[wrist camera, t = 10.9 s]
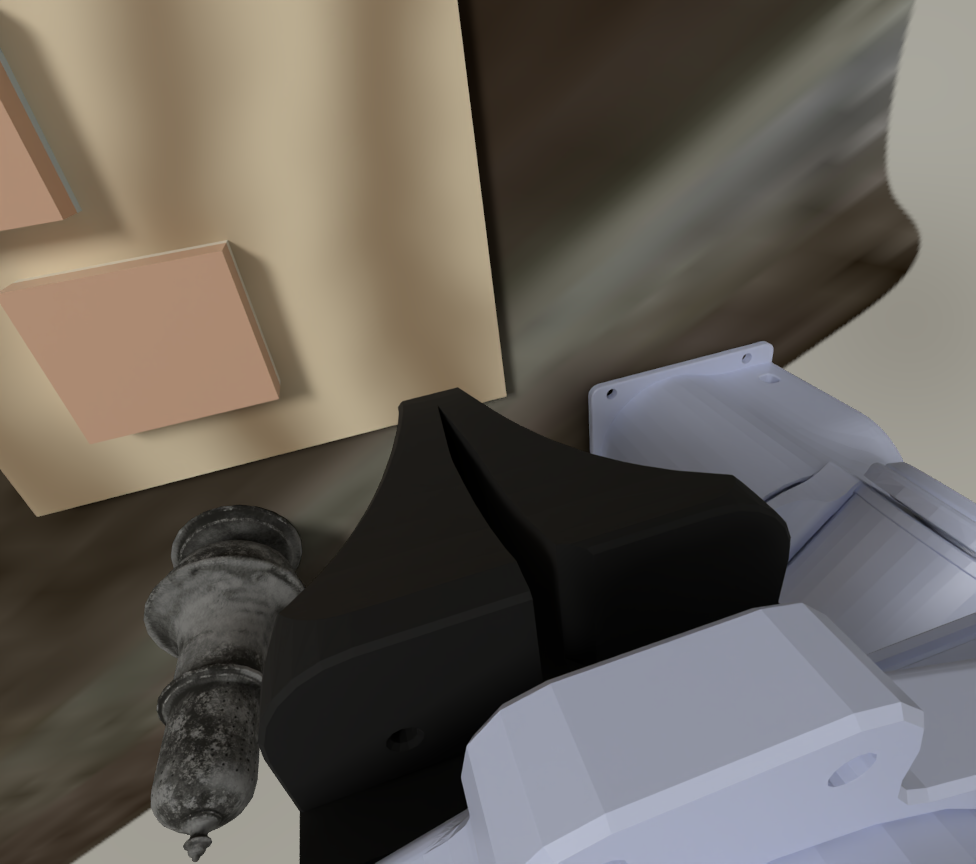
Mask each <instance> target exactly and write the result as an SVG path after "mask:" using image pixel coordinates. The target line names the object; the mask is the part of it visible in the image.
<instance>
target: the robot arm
mask: <svg viewBox="0 0 976 864" xmlns="http://www.w3.org/2000/svg"><path fill="white" fill-rule="evenodd" d="M745 354H746V356H745V357H744V359H742V358H743V356H744V355H745ZM772 356H773V346H772V345H771V344H769V343H767V342H765V341H761V342H757V343H754V344H750V345H746V346H742V347H738V348H734V349H730V350H727V351H723V352H719V353H715V354H711V355H707V356H704V357H700V358H696V359H692V360H688V361H684V362H681V363H677V364H673V365H669V366H665V367H661V368H657V369H654V370H650V371H646V372H642V373H638V374H634V375H631V376H627V377H623V378H619V379H615V380H611V381H608V382H604V383H600V384H597V385H595V386H593V387H592V388H591V390H590V391H589V395H588V404H589V436H590V453H588V452H585V451H581V450H578V449H575V448H572V447H570V446H567V445H564V444H561V443H559V442H556V441H553V440H551V439H548V438H546V437H544V436H541V435H539V434H537V433H535V432H533V431H531V430H529V429H527V428H524V427H522V426H520V425H518V424H517V423H515V422H513V421H511V420H509V419H507V418H506V417H504V416H502V415H500V414H499V413H497V412H495V411H494V410H492V409H491V408H489V407H487V406H486V405H484V404H483V403H481V402H480V401H478V400H477V399H475V398H474V397H472V396H471V395H469V394H468V393H466V392H465V391H463V390H461V389H460V388H458V387H457V388H453V389H449V390H445V391H441V392H437V393H433V394H429V395H425V396H421V397H417V398H413V399H409V400H405V401H402V402H401V403H400V405H399V406H398V411H399V416H398V425H397V431H396V436H395V440H394V444H393V448H392V452H391V455H390V458H389V461H388V463H387V466H386V469H385V472H384V474H383V477H382V480H381V482H380V484H379V486H378V489H377V491H376V493H375V495H374V497H373V499H372V501H371V503H370V505H369V507H368V508H367V510H366V512H365V514H364V515H363V517H362V518H361V520H360V522H359V523H358V525H357V527H356V528H355V530H354V531H353V533H352V534H351V536H350V537H349V539H348V540H347V541H346V543H345V544H344V545H343V547H342V548H341V549H340V550H339V552H338V553H337V554H336V555H335V557H334V558H333V559H332V560H331V562H330V563H329V564H328V565H327V566H326V567H325V568H324V570H323V571H322V572H321V573H320V574H319V575H318V576H317V577H316V578H315V579H314V580H313V581H312V582H311V583H310V584H309V585H308V586H307V587H306V588H305V589H304V590H303V591H302V592H301V593H300V594H299V595H298V596H297V597H296V598H295V599H294V600H292V601H291V602H290V603H289V604H288V605H287V606H286V607H285V608H284V609H283V610H282V611H281V612H279V613H278V615H277V617H276V620H275V624H274V627H273V631H272V635H271V639H270V643H269V647H268V651H267V656H266V661H265V665H264V669H263V676H262V682H261V692H260V709H259V726H258V745H259V747H260V750H261V752H262V755H263V757H264V760H265V761H266V763H267V764H268V766H269V767H270V769H271V770H272V772H273V773H274V774H275V776H276V777H277V779H278V780H279V782H280V783H281V785H282V786H283V788H284V789H285V791H286V792H287V793H288V795H289V796H290V798H291V799H292V801H293V802H294V804H295V805H296V806H297V808H298V809H299V811H300V864H976V503H974V502H972V501H971V500H969V499H968V498H966V497H964V496H963V495H961V494H959V493H958V492H956V491H954V490H952V489H951V488H949V487H948V486H946V485H944V484H943V483H941V482H939V481H937V480H936V479H934V478H932V477H930V476H929V475H927V474H925V473H924V472H922V471H920V470H919V469H917V468H915V467H913V466H911V465H909V464H907V463H905V462H903V460H902V457H901V455H900V453H899V452H898V450H897V448H896V447H895V445H894V444H893V442H892V441H891V439H890V438H889V437H888V435H887V434H886V433H885V432H884V431H883V430H882V429H881V428H880V427H879V426H878V425H877V424H876V423H875V422H874V421H873V420H871V419H870V418H869V417H867V416H866V415H864V414H862V413H861V412H859V411H857V410H856V409H854V408H852V407H850V406H848V405H846V404H845V403H843V402H841V401H839V400H838V399H836V398H834V397H832V396H830V395H829V394H827V393H825V392H823V391H822V390H820V389H818V388H816V387H814V386H812V385H811V384H809V383H807V382H806V381H804V380H802V379H800V378H798V377H797V376H795V375H793V374H791V373H789V372H787V371H786V370H784V369H782V368H781V367H779V366H777V365H775V364H773V363H772ZM611 389H613V392H612V393H611V394H610V395H608V396H606V395H607V392H608V391H609V390H611Z"/></svg>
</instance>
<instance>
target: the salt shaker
mask: <svg viewBox="0 0 976 864" xmlns="http://www.w3.org/2000/svg"><path fill="white" fill-rule="evenodd" d="M301 555H302V546H301V539H300V537H299V535H298V533H297V531H296V529H295V528H294V527H293V526H292V525H291V524H290V523H289V522H288V521H287V520H286V519H285V518H283V517H281V516H279V515H278V514H276V513H274V512H272V511H269V510H266V509H263V508H260V507H255V506H245V505H234V506H224V507H219V508H216V509H212V510H209V511H206V512H203V513H202V514H200V515H198V516H196V517H195V518H193V519H191V520H190V521H189V522H188V523H187V524H186V525H185V526H184V527H183V528H181V529H180V530H179V532H178V534H177V536H176V538H175V540H174V542H173V545H172V553H171V559H172V563H173V566H174V569H173V570H172V571H171V572H170V573H169V574H168V575H167V576H166V577H165V578H164V579H163V580H162V581H161V582H160V583H159V584H158V585H157V586H156V587H155V588H154V589H153V591H152V592H151V594H150V596H149V598H148V600H147V602H146V604H145V612H144V623H145V626H146V629H147V632H148V634H149V636H150V637H151V638H152V639H153V640H154V642H155V643H156V644H157V645H158V646H159V647H160V648H161V649H163V650H164V651H166V652H168V653H169V654H171V655H172V656H174V657H176V658H178V661H177V666H176V670H175V675H174V679H173V681H172V682H171V683H170V684H168V685H167V686H166V687H165V688H164V689H163V691H162V693H161V695H160V696H159V698H158V704H157V713H158V716H159V719H160V720H161V721H162V722H163V723H164V725H165V726H166V727H165V732H164V736H163V741H162V745H161V750H160V754H159V759H158V764H157V768H156V773H155V777H154V782H153V786H152V792H151V808H152V811H153V813H154V815H155V817H156V818H157V820H158V821H159V822H160V823H161V824H162V825H163V826H164V827H166V828H169V829H171V830H174V831H176V832H178V833H184V834H187V835H190V839H189V840H188V841H186V842H185V844H184V846H183V847H184V849H185V850H187V851H188V855H189V857H191V858H192V861H193V862H197V861H198V860H199V858H200V856H202V855H203V854H204V852H205V851H206V848H207V847H209V846H210V845H211V843H212V841H211V838H209V837H208V836H207V834H208V833H209V832H211V831H212V830H215V829H218V828H220V827H221V826H223V825H225V824H227V823H228V822H230V821H231V820H233V819H235V818H236V817H237V816H238V815H239V814H241V812H242V811H243V810H244V808H245V807H246V806H247V805H248V803H249V802H250V800H251V799H252V797H253V794H254V791H255V787H256V784H257V779H258V764H259V749H260V747H259V745H258V726H259V709H260V692H261V682H262V676H263V669H264V665H265V661H266V656H267V651H268V647H269V643H270V639H271V635H272V631H273V627H274V624H275V620H276V617H277V615H278V613H279V612H281V611H282V610H283V609H284V608H285V607H286V606H287V605H288V604H289V603H290V602H291V601H292V600H294V599H295V598H296V597H297V596H298V595H299V594H300V593H301V592H302V591H303V590H304V589H305V588H304V586H303V584H302V582H301V581H300V580H299V578H298V577H297V575H296V573H295V570H296V569H297V567H298V566H299V563H300V559H301Z"/></svg>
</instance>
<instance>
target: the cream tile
mask: <svg viewBox="0 0 976 864" xmlns="http://www.w3.org/2000/svg"><path fill="white" fill-rule="evenodd" d="M0 304H1V306H2V307H3V309H4V310H5V312H6V314H7V315H8V317H9V318H10V320H11V321H12V323H13V325H14V326H15V328H16V329H17V331H18V332H19V334H20V336H21V337H22V339H23V340H24V342H25V343H26V345H27V347H28V348H29V350H30V351H31V353H32V354H33V356H34V358H35V359H36V361H37V362H38V364H39V365H40V367H41V369H42V370H43V372H44V373H45V375H46V376H47V378H48V380H49V381H50V383H51V384H52V386H53V387H54V389H55V391H56V392H57V394H58V395H59V397H60V398H61V400H62V402H63V403H64V405H65V406H66V408H67V409H68V411H69V413H70V414H71V416H72V417H73V419H74V420H75V422H76V424H77V425H78V427H79V428H80V430H81V431H82V433H83V435H84V436H85V438H86V439H87V441H88V442H89V444H94V443H98V442H102V441H106V440H110V439H115V438H119V437H123V436H127V435H131V434H135V433H140V432H144V431H148V430H152V429H156V428H160V427H165V426H169V425H173V424H177V423H181V422H185V421H190V420H194V419H198V418H202V417H206V416H210V415H215V414H219V413H223V412H227V411H231V410H235V409H240V408H244V407H248V406H252V405H256V404H260V403H265V402H269V401H273V400H277V399H279V394H280V382H281V380H280V378H279V375H278V372H277V370H276V367H275V364H274V362H273V359H272V356H271V354H270V351H269V348H268V346H267V343H266V340H265V338H264V335H263V332H262V330H261V327H260V324H259V322H258V319H257V316H256V314H255V311H254V308H253V306H252V303H251V300H250V298H249V295H248V292H247V290H246V287H245V285H244V282H243V279H242V277H241V274H240V271H239V269H238V266H237V263H236V261H235V258H234V255H233V253H232V250H231V247H230V245H229V242H228V240H225V241H219V242H214V243H209V244H204V245H198V246H193V247H188V248H183V249H177V250H172V251H167V252H161V253H156V254H151V255H146V256H140V257H135V258H130V259H125V260H119V261H114V262H109V263H103V264H98V265H93V266H88V267H82V268H77V269H72V270H67V271H61V272H56V273H51V274H45V275H40V276H35V277H30V278H24V279H19V280H17V281H15V282H14V283H12V284H10V285H9V286H7V287H6V288H4V289H2V290H1V291H0Z"/></svg>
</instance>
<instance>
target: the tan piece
mask: <svg viewBox="0 0 976 864" xmlns="http://www.w3.org/2000/svg"><path fill="white" fill-rule="evenodd" d="M80 211H82V209H81V207H80V205H79V203H78V201H77V199H76V197H75V195H74V193H73V191H72V189H71V187H70V185H69V183H68V181H67V179H66V177H65V175H64V173H63V171H62V169H61V167H60V165H59V163H58V161H57V159H56V158H55V156H54V154H53V152H52V150H51V148H50V146H49V144H48V142H47V140H46V138H45V136H44V134H43V132H42V130H41V128H40V126H39V124H38V122H37V120H36V118H35V116H34V114H33V112H32V110H31V108H30V106H29V104H28V102H27V100H26V98H25V96H24V94H23V92H22V90H21V88H20V86H19V84H18V82H17V80H16V78H15V76H14V74H13V72H12V70H11V68H10V66H9V64H8V62H7V60H6V58H5V56H4V54H3V52H2V50H1V48H0V231H3V230H9V229H15V228H20V227H26V226H32V225H37V224H43V223H49V222H55V221H60V220H64V219H66V218H68V217H70V216H72V215H74V214H76V213H78V212H80Z"/></svg>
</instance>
